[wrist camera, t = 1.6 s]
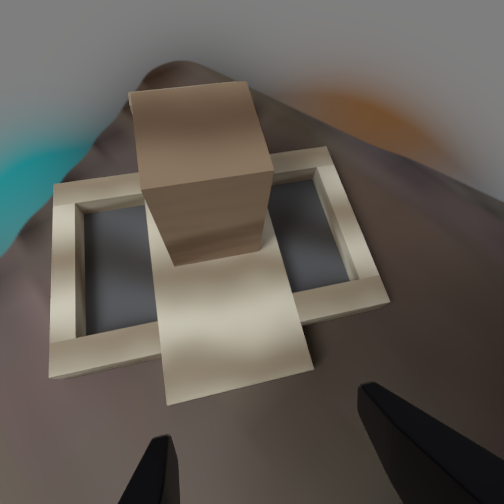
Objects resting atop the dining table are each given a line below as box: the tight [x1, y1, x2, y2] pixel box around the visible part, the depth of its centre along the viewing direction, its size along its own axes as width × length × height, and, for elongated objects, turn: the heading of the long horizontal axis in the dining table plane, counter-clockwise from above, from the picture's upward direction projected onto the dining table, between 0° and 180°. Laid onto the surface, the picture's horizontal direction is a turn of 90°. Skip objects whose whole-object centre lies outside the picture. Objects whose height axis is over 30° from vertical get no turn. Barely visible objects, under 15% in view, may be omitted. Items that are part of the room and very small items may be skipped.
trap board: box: [49, 81, 390, 406], centre depth 24 cm, size 24×22×4 cm
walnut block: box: [131, 81, 274, 267], centre depth 19 cm, size 6×6×9 cm
